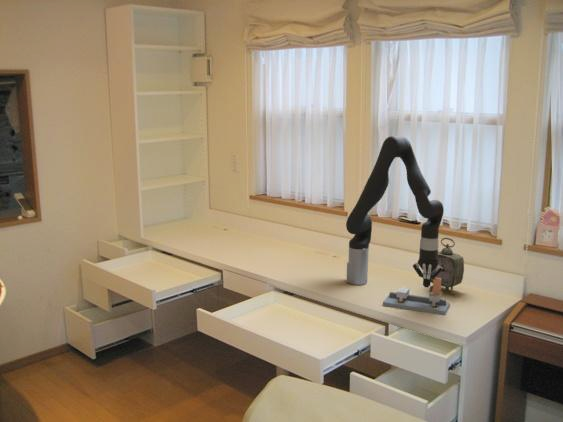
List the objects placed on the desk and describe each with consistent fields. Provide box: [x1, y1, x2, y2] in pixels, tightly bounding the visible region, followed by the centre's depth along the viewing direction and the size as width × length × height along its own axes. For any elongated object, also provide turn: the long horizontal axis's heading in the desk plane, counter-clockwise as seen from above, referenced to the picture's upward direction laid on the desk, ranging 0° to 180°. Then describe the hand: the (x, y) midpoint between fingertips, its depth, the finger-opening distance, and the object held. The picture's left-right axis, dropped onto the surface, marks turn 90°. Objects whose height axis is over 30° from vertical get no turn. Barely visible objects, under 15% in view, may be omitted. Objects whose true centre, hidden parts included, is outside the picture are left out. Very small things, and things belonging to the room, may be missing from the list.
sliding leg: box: [429, 277, 443, 307], centre depth 260 cm, size 4×8×10 cm, turn 156°
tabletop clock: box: [427, 237, 465, 296], centre depth 281 cm, size 14×9×25 cm, turn 45°
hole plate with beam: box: [382, 286, 451, 316], centre depth 264 cm, size 26×12×6 cm, turn 66°
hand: (426, 286), depth 264 cm, fingers closed
